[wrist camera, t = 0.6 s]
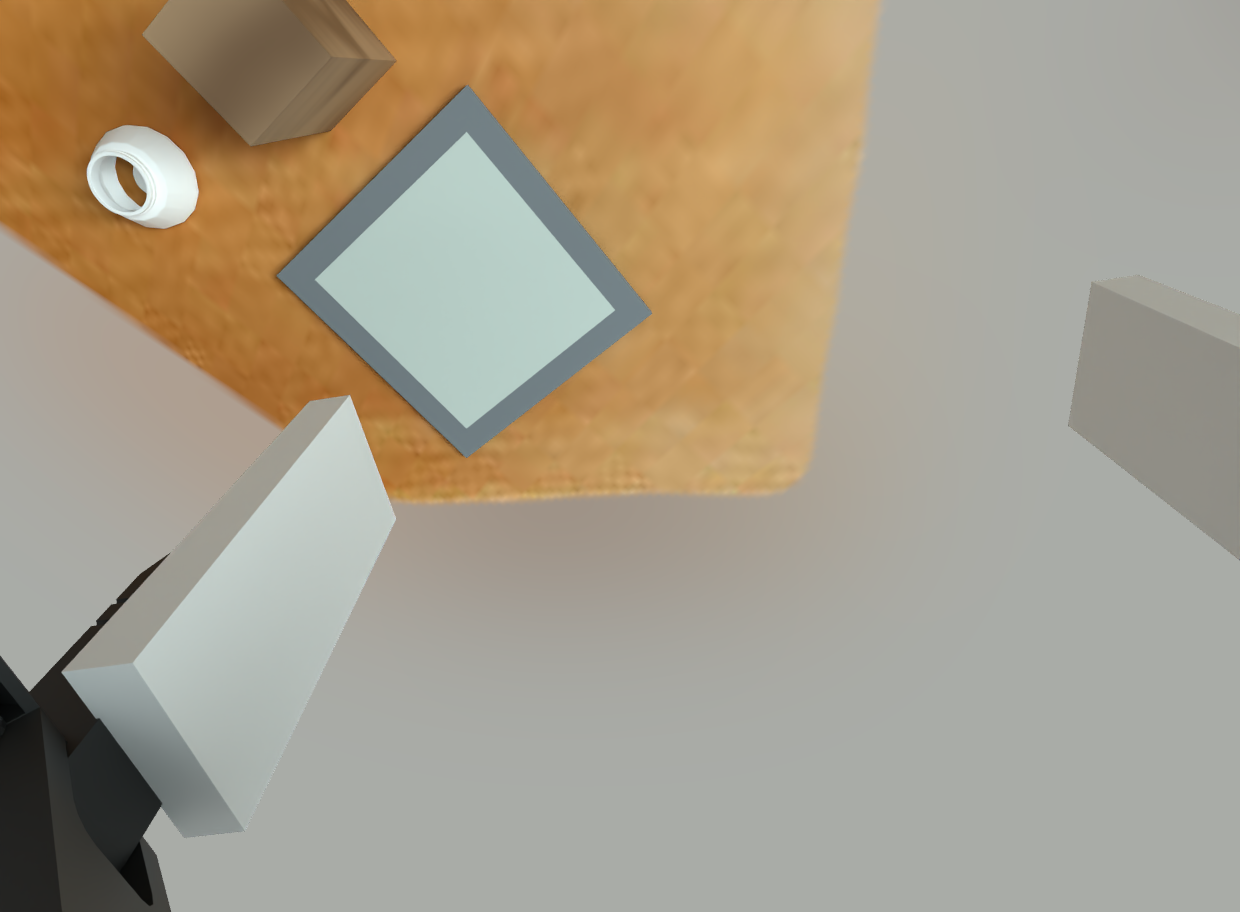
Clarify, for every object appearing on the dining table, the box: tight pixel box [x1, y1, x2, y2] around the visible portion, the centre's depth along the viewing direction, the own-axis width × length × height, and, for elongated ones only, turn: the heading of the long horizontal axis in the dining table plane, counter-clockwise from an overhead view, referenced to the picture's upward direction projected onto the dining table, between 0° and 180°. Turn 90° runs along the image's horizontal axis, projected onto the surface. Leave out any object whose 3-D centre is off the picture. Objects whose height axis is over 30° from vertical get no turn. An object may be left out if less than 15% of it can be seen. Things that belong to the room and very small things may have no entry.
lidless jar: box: [87, 125, 199, 229], centre depth 36 cm, size 5×3×5 cm
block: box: [142, 0, 396, 146], centre depth 31 cm, size 5×5×9 cm
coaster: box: [277, 85, 652, 458], centre depth 40 cm, size 15×15×1 cm
